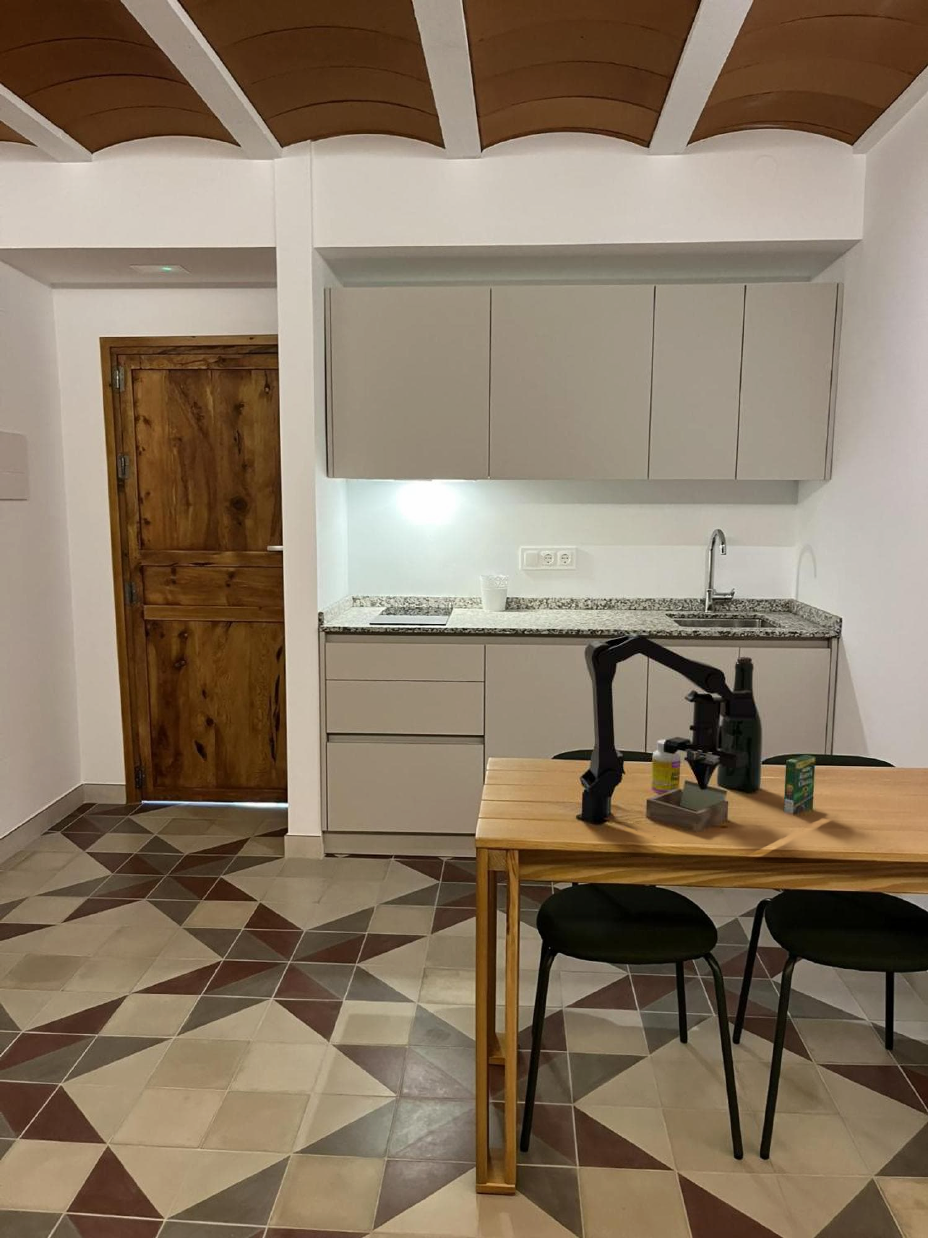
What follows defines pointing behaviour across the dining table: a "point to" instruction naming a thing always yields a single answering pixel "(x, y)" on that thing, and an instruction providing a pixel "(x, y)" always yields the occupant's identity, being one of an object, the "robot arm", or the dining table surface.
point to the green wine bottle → (743, 739)
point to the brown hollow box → (684, 812)
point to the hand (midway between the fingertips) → (703, 789)
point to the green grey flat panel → (700, 796)
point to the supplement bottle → (665, 770)
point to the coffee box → (799, 784)
